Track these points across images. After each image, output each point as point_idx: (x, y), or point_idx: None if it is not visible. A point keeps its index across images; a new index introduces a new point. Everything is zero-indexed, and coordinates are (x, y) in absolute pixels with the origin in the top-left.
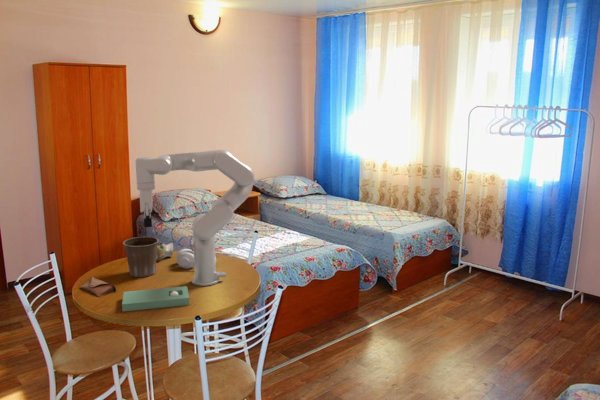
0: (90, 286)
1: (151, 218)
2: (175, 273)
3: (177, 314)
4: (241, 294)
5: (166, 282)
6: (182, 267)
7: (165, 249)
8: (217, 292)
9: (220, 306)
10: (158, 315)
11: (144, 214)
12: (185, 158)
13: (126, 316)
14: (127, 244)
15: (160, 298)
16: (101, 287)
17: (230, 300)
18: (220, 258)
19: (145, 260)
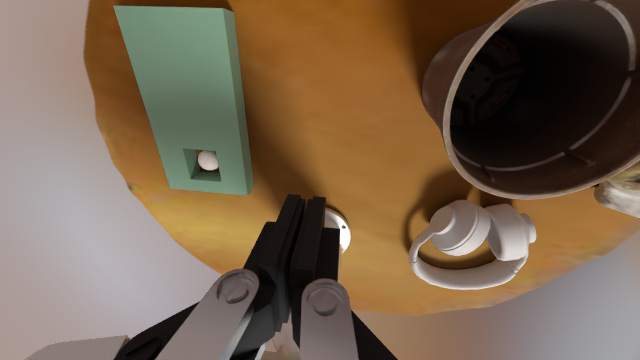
0: None
1: (279, 324)
2: (411, 180)
3: (129, 151)
4: (229, 268)
5: (342, 149)
6: (448, 204)
7: (620, 188)
8: (245, 238)
9: (173, 228)
10: (119, 110)
11: (170, 346)
12: None
13: (102, 24)
14: None
15: (164, 126)
16: None
17: (201, 247)
18: None
19: (433, 105)
